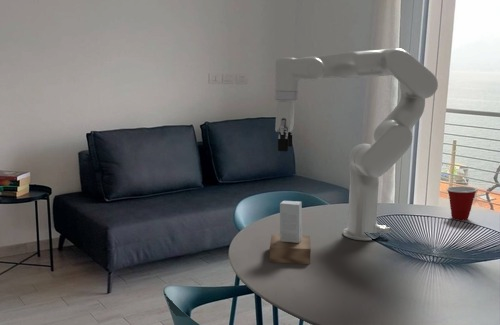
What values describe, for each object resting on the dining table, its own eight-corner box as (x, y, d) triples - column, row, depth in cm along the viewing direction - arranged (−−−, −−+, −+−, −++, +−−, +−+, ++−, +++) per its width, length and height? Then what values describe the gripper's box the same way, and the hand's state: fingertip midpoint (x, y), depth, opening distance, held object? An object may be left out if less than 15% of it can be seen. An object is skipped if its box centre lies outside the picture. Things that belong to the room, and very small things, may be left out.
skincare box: (302, 239, 167) (302, 201, 165) (299, 243, 163) (299, 204, 161) (283, 237, 169) (283, 200, 167) (279, 241, 165) (279, 203, 163)
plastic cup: (452, 212, 215) (455, 183, 212) (479, 218, 207) (482, 188, 205) (438, 217, 207) (441, 187, 205) (466, 224, 200) (468, 192, 197)
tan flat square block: (309, 250, 172) (309, 235, 171) (310, 265, 160) (310, 248, 159) (271, 249, 172) (271, 234, 172) (269, 263, 161) (269, 247, 160)
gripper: (278, 94, 184) (278, 144, 187) (270, 97, 167) (269, 152, 170) (301, 94, 182) (299, 145, 185) (294, 98, 165) (293, 153, 169)
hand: (285, 148), depth 178 cm, fingers open, 9 cm apart
